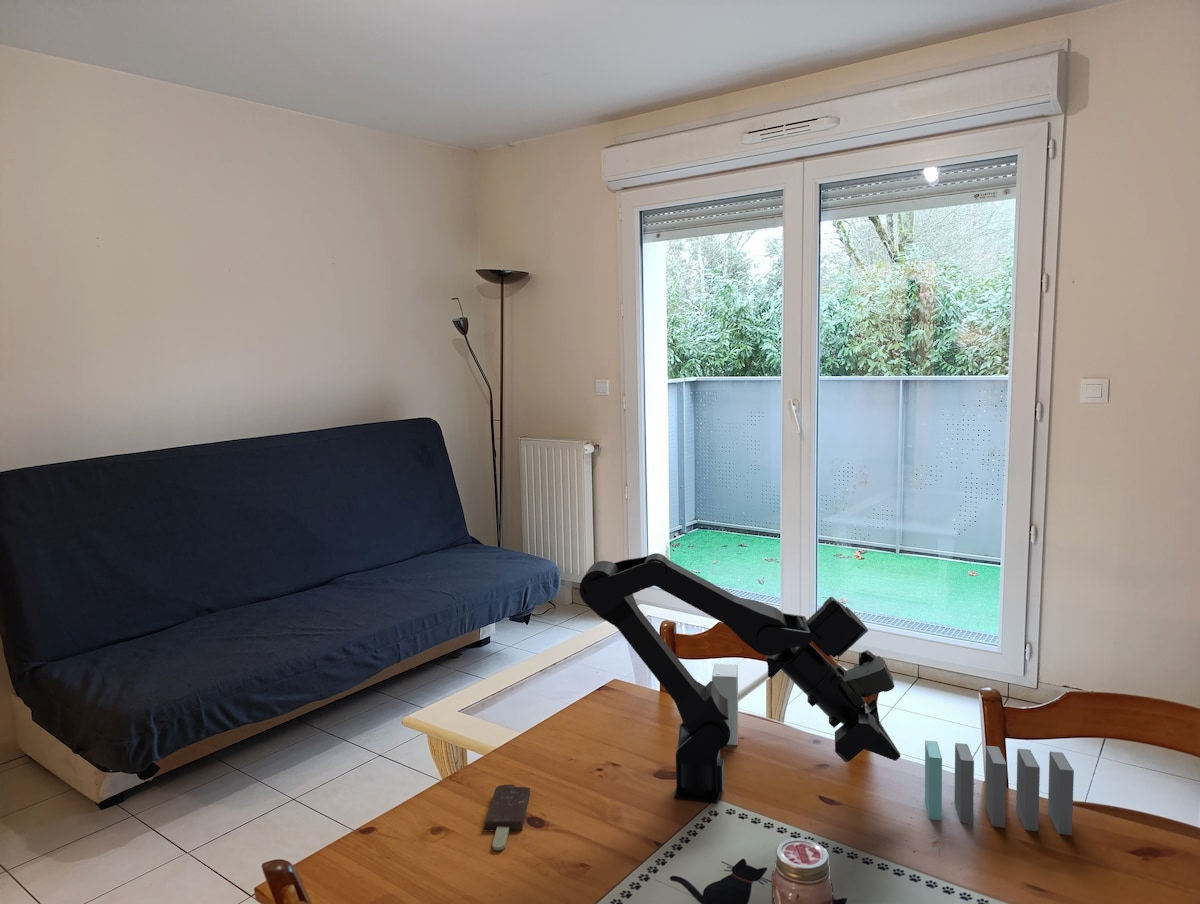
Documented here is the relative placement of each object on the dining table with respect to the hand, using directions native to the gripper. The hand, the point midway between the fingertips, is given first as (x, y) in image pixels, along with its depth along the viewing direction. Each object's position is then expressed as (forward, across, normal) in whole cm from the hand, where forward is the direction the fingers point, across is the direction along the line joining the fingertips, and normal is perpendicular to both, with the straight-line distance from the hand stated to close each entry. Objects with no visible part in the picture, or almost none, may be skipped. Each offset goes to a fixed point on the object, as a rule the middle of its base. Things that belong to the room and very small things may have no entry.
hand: (898, 757), depth 111 cm
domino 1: (+11, 0, -1) cm, 11 cm away
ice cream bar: (-33, -16, +44) cm, 57 cm away
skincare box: (-14, +16, +24) cm, 32 cm away
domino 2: (+14, 0, -4) cm, 15 cm away
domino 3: (+17, 0, -7) cm, 18 cm away
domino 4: (+20, 0, -9) cm, 22 cm away
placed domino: (+8, 0, +2) cm, 9 cm away
